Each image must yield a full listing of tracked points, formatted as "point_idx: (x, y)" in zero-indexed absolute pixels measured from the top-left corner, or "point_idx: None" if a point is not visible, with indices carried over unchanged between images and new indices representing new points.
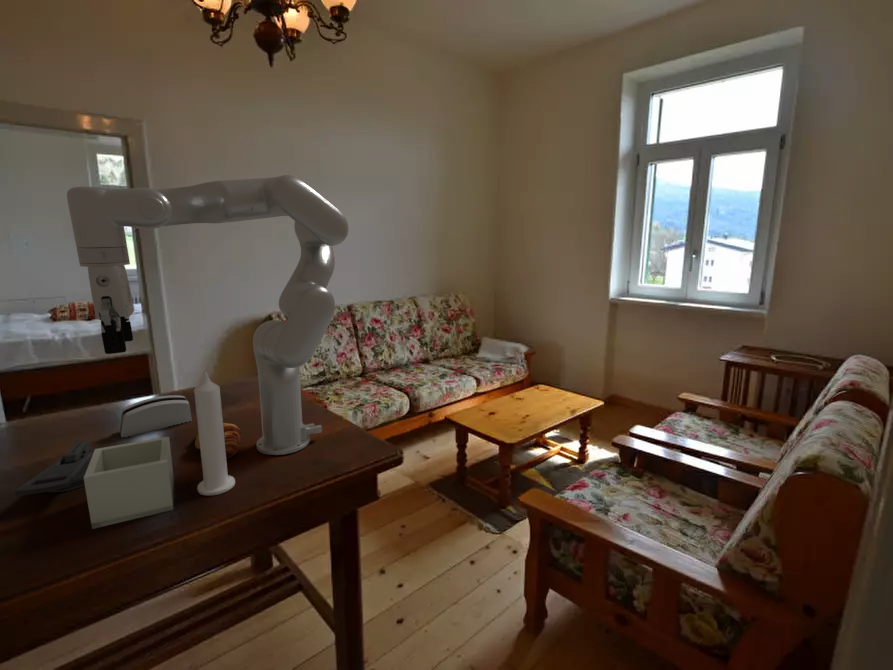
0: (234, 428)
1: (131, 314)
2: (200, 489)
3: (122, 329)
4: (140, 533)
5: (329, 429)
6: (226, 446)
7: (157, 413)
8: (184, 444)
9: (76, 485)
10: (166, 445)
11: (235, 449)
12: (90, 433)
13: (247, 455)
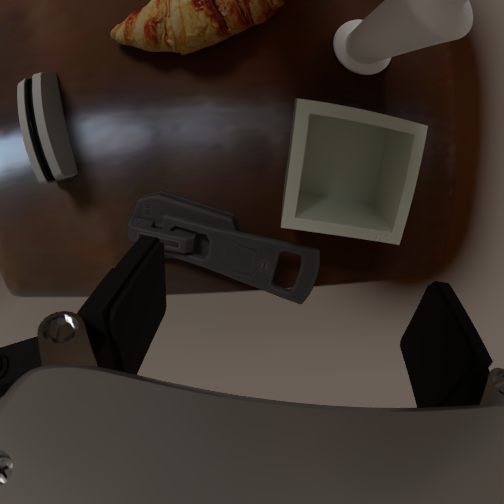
0: None
1: (396, 413)
2: (371, 71)
3: (138, 319)
4: (426, 163)
5: None
6: (264, 2)
7: (53, 124)
8: (148, 74)
9: (237, 227)
10: (348, 110)
11: None
12: (50, 216)
13: None
